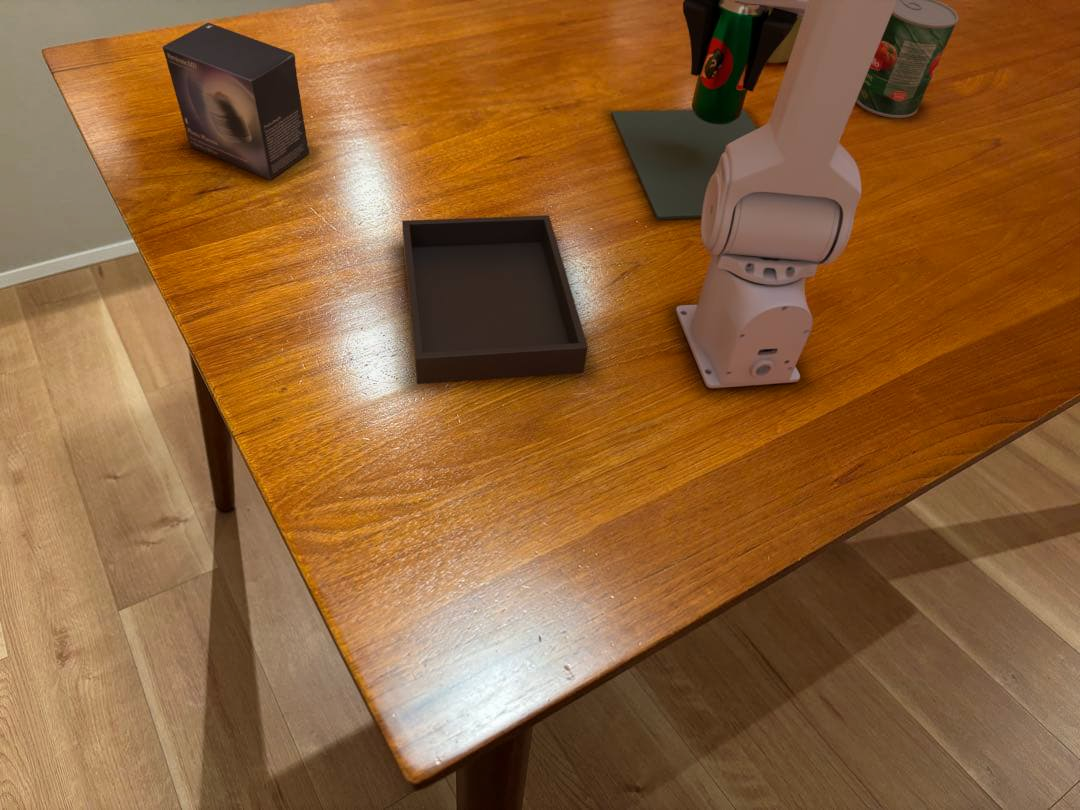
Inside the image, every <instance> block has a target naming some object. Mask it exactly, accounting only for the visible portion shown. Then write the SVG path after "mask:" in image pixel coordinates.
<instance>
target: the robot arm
mask: <svg viewBox="0 0 1080 810" xmlns="http://www.w3.org/2000/svg"><path fill="white" fill-rule="evenodd" d="M735 1H739V2H743V3H749V4H758V5H766V7H767V10H769V11H771V13H770V14H769V15H768V17H767V18H766V20H765V21H764V23H763V26H762V31H761V36H760V41H759V45H758V49H757V53H756V57H755V61H754V64H753V66H752V69H751V72H750V75H749V77H748V80H747V84H746V88H745V90H747V91H749V92H753V91H754V89H755V87H756V86H757V84H758V81H759V79H760V77H761V74H762V72H763V70H764V69H765V66H766V64H767V63H768V62H767V61H768V59H769V58H770V57H771V55H772V54H773V52H774V51H775V50H776V48H777V47H778V46H779V45H780V44H781V42H782V41H783V40H784V39H785V38H786V36H787V35H788V34H789V33H790V31H791V30H792V28H793V26H794V25H795V23H796V21H797V19H798V18H800V19H802V22H801V25H800V28H799V31H798V34H797V37H796V40H795V43H794V46H793V50H792V53H791V56H790V59H789V60H788V61H787V65H786V68H785V71H784V74H783V77H782V80H781V83H780V87H779V90H778V93H777V96H776V99H775V102H774V105H773V108H772V112H771V113H770V117H769V120H768V122H767V123H765V124H764V125H762V126H760V127H759V128H757V129H756V130H754V131H752V132H750V133H748V134H746V135H744V136H742V137H740V138H738V139H736V140H735V141H733V142H731V143H729V144H728V145H727V146H726V149H725V152H724V153H723V154H722V155H721V158H720V161H719V164H718V166H717V169H716V171H715V173H714V174H713V175H712V177H711V178H710V180H709V183H708V186H707V189H706V193H705V198H704V203H703V209H702V218H700V238H701V243H702V245H703V246H704V248H705V249H706V251H707V253H708V254H709V255H711V257H710V260H709V263H708V267H707V270H706V274H705V276H704V277H705V278H704V280H703V284H702V287H701V291H700V294H699V297H698V301H697V304H684V305H683V304H682V305H678V306H676V307H675V314H676V316H677V319H678V321H679V324H680V326H681V328H682V331H683V333H684V336H685V338H686V341H687V343H688V346H689V348H690V350H691V353H692V355H693V358H694V361H695V363H696V365H697V367H698V370H699V373H700V375H701V378H702V380H703V382H704V385H705V386H706V387H707V388H708V389H722V388H735V387H748V386H763V385H774V384H789V383H797V382H799V380H800V378H801V374H800V372H799V371H798V368H797V367H796V365H797V363H798V361H799V359H800V356H801V355H802V352H803V351H804V348H805V345H806V344H807V341H808V338H809V337H810V334H811V332H812V329H813V323H814V321H813V316H812V313H811V310H810V308H809V306H808V303H807V302H808V301H807V298H806V278H814V277H815V275H816V273H817V270H818V269H819V265H824V266H827V265H831V264H832V263H833V262H835V261H836V259H837V258H839V257H840V256H841V255H842V254H843V252H844V250H845V249H846V247H847V245H848V244H849V243H848V242H849V240H850V238H851V235H852V234H851V233H852V231H853V227H854V221H855V214H856V211H857V208H858V205H859V202H860V199H861V197H862V194H863V189H862V180H861V173H860V170H859V167H858V165H857V162H856V161H855V158H854V157H853V156H852V154H850V152H849V151H848V150H847V149H846V148H845V147H844V146H843V145H842V144H841V143H840V141H841V139H842V136H843V133H844V131H845V129H846V125H847V124H848V121H849V119H850V117H851V114H852V112H853V110H854V107H855V105H856V100H857V97H858V95H859V92H860V90H861V87H862V85H863V83H864V80H865V78H866V75H867V73H868V70H869V68H870V66H871V63H872V61H873V58H874V56H875V53H876V51H877V49H878V46H879V44H880V41H881V39H882V36H883V34H884V32H885V29H886V27H887V24H888V22H889V19H890V17H891V15H892V12H893V10H894V7H895V5H896V2H897V0H735ZM714 5H715V0H683V2H682V13H683V16H684V18H685V22H686V25H687V30H688V35H689V41H690V43H689V44H690V50H691V51H690V53H691V55H690V56H691V69H690V75H691V76H695V77H698V74H699V70H700V66H701V61H702V57H703V52H704V48H705V44H706V39H707V35H708V31H709V26H710V22H711V18H712V13H713V9H714Z"/></svg>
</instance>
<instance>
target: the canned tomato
mask: <svg viewBox="0 0 1080 810" xmlns="http://www.w3.org/2000/svg"><path fill="white" fill-rule="evenodd" d="M958 21H959V15H958V13H957V11H956V10H954V9H953V8H952V7H950V6H949V5H947V4H946V3H943V2H941V1H938V0H897V2H896V5H895V7H894V10H893V12H892V15H891V17H890V19H889V22H888V24H887V27H886V29H885V32H884V34H883V36H882V39H881V41H880V44H879V46H878V49H877V51H876V53H875V56H874V58H873V61H872V63H871V66H870V68H869V70H868V73H867V75H866V78H865V80H864V83H863V85H862V87H861V90H860V92H859V95H858V97H857V100H856V102H855V104H857V105H858V106H859V107H860V108H862V109H863V110H865V111H867V112H869V113H872V114H873V115H877V116H881V117H883V118H889V119H906V118H907V119H908V118H909V117H912V116H915V115H916V114H917V113H918V110H919V108H920V104H921V102H922V100H923V98H924V97H925V94H926V92H927V89H928V87H929V85H930V83H931V80H932V78H933V76H934V73H935V72H936V69H937V68H938V64H939V62H940V60H941V58H942V56H943V53H944V52H945V50H946V47H947V45H948V42H949V40H950V39H951V36H952V33H953V31H954V29H955V26H956V24H958Z"/></svg>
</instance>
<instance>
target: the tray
mask: <svg viewBox="0 0 1080 810" xmlns="http://www.w3.org/2000/svg"><path fill="white" fill-rule="evenodd" d="M401 223H402V225H401V226H402V242H403V254H404V255H403V256H404V266H405V275H406V286H407V287H406V288H407V296H408V306H409V315H410V326H411V327H410V328H411V335H412V337H411V338H412V348H413V359H414V368H415V379H416V384H417V385H424V384H437V383H439V384H440V383H453V382H454V383H455V382H466V381H467V382H468V381H482V380H494V379H495V380H497V379H508V378H510V379H511V378H523V377H538V376H539V377H540V376H551V375H552V376H553V375H554V376H555V375H567V374H581V373H584V372H585V365H586V360H587V354H588V348H589V347H588V343H587V341H586V337H585V334H584V330H583V325H582V323H581V320H580V316H579V313H578V309H577V306H576V302H575V299H574V296H573V292H572V288H571V286H570V283H569V278H568V276H567V272H566V269H565V265H564V262H563V259H562V255H561V251H560V248H559V245H558V241H557V239H556V234H555V231H554V228H553V224H552V221H551V218H550V215H548V214H547V215H521V216H520V215H519V216H518V215H517V216H494V217H493V216H492V217H466V218H465V217H463V218H437V219H410V220H408V219H407V220H402V221H401Z"/></svg>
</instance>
